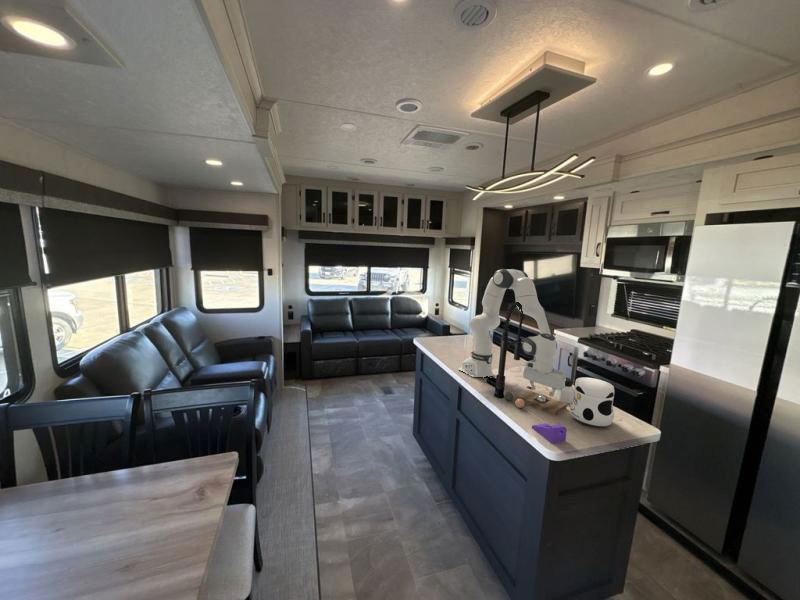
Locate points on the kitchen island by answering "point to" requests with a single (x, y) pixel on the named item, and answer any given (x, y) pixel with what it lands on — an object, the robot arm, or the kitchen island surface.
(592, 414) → the doce de leite tub
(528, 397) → the hole plate
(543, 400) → the steel ball
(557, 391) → the medicine bottle
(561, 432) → the bracket
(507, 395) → the rubber ball
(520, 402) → the terracotta ball
